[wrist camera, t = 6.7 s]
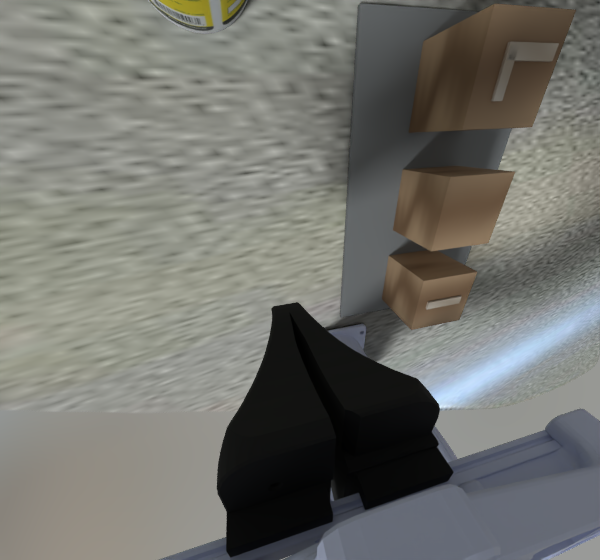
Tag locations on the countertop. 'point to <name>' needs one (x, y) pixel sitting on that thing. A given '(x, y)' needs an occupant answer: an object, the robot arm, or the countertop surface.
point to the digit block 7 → (489, 69)
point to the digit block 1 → (426, 287)
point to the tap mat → (395, 145)
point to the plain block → (450, 205)
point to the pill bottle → (200, 13)
